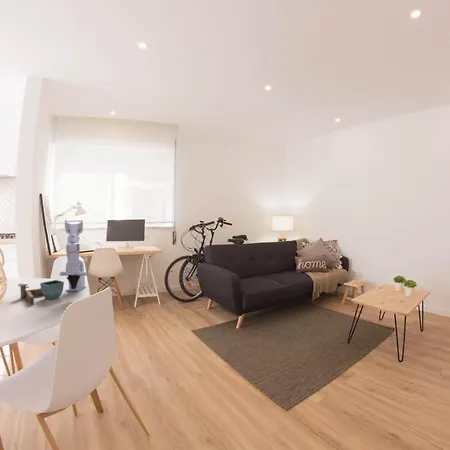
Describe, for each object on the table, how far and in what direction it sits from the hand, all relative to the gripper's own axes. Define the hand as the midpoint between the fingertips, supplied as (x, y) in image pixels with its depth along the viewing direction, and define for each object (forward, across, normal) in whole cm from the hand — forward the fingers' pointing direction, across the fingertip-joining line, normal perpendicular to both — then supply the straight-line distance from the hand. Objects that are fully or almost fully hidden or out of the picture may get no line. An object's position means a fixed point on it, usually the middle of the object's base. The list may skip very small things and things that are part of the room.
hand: (73, 288), depth 152 cm
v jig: (+6, -24, 0) cm, 24 cm away
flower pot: (+6, -13, 0) cm, 14 cm away
